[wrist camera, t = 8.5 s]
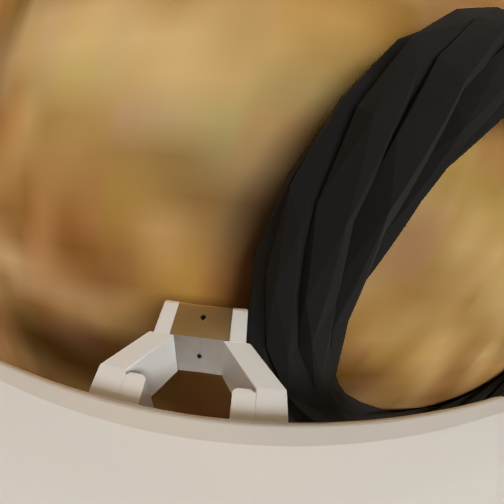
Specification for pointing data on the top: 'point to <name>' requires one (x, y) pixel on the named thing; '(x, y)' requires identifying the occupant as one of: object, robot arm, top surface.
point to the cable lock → (368, 202)
